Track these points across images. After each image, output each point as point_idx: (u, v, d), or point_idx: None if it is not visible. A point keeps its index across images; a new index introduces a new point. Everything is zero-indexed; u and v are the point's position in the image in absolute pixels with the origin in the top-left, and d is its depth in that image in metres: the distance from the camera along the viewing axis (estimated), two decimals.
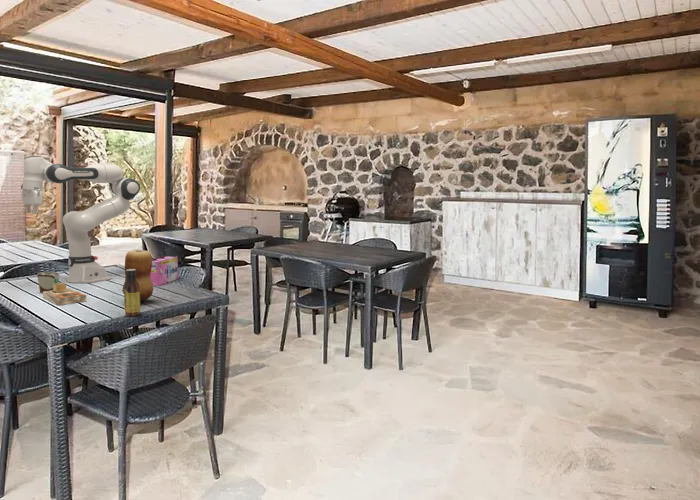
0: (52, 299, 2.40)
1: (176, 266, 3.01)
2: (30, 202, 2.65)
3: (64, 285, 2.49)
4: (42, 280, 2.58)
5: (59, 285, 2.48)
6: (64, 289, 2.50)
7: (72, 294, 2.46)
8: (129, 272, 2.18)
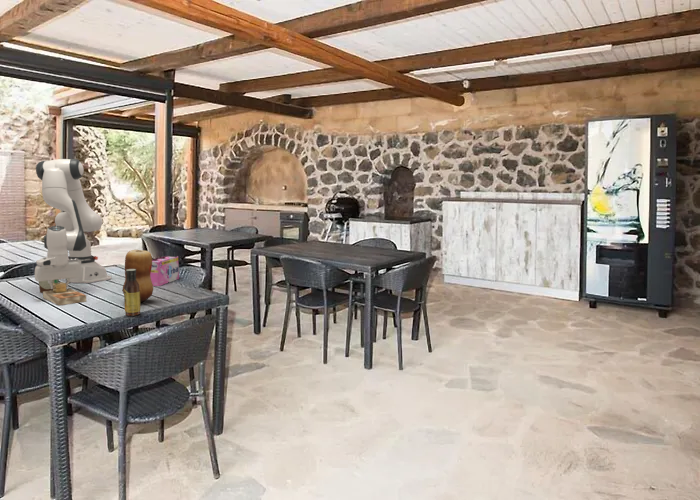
0: (52, 299, 2.40)
1: (177, 266, 3.00)
2: (69, 276, 2.51)
3: (64, 285, 2.49)
4: None
5: (59, 285, 2.48)
6: (64, 289, 2.50)
7: (72, 294, 2.46)
8: (129, 272, 2.18)
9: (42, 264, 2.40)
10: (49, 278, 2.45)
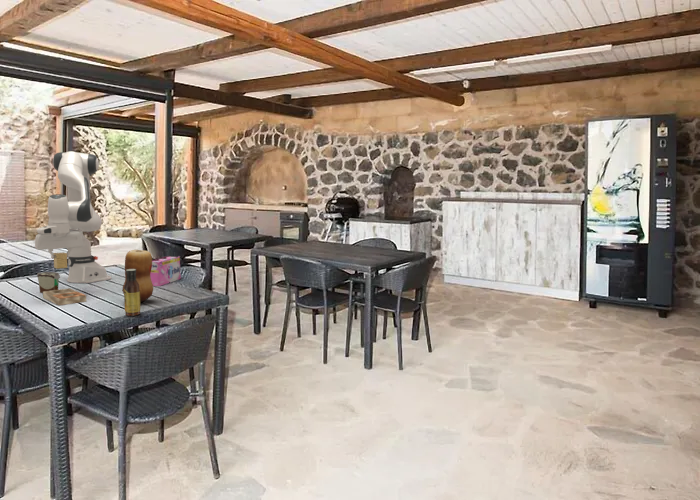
0: (52, 299, 2.40)
1: (178, 266, 3.00)
2: (70, 245, 2.46)
3: (65, 255, 2.44)
4: (42, 280, 2.58)
5: (60, 254, 2.43)
6: (65, 259, 2.45)
7: (72, 294, 2.46)
8: (129, 272, 2.18)
9: (43, 232, 2.36)
10: (50, 247, 2.40)
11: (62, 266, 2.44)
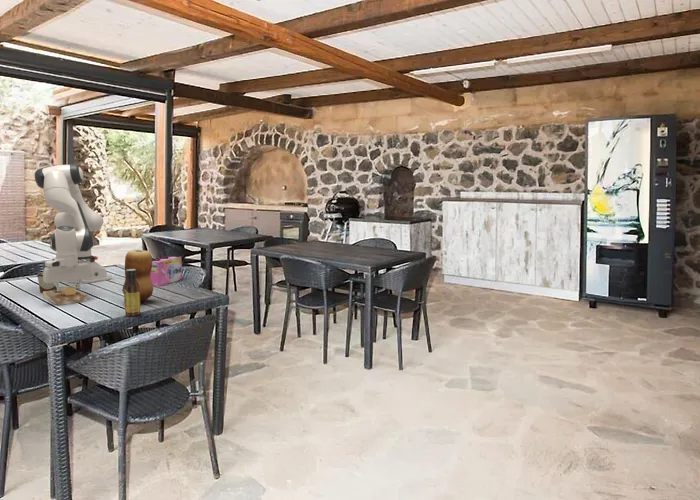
0: (52, 299, 2.40)
1: (180, 266, 3.00)
2: (78, 277, 2.43)
3: (73, 289, 2.41)
4: (42, 280, 2.58)
5: (68, 289, 2.40)
6: (73, 293, 2.42)
7: None
8: (129, 272, 2.18)
9: (51, 265, 2.32)
10: (58, 280, 2.36)
11: None
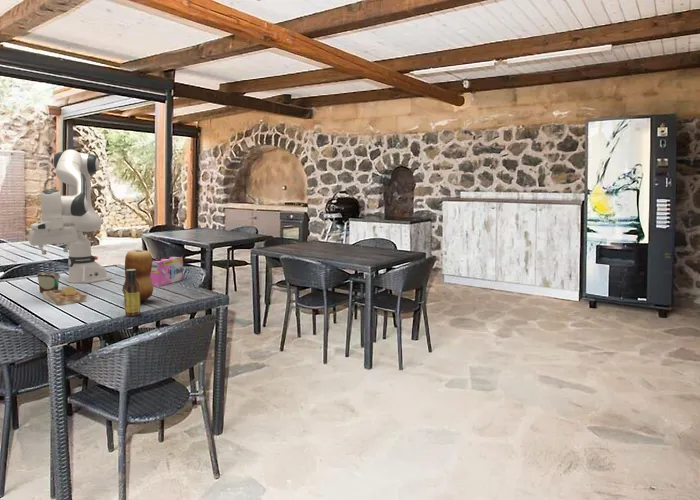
0: (52, 299, 2.40)
1: (181, 267, 2.99)
2: (64, 240, 2.45)
3: (73, 289, 2.41)
4: (42, 280, 2.58)
5: (68, 289, 2.40)
6: (73, 293, 2.42)
7: None
8: (129, 272, 2.18)
9: (37, 228, 2.34)
10: (44, 242, 2.38)
11: None
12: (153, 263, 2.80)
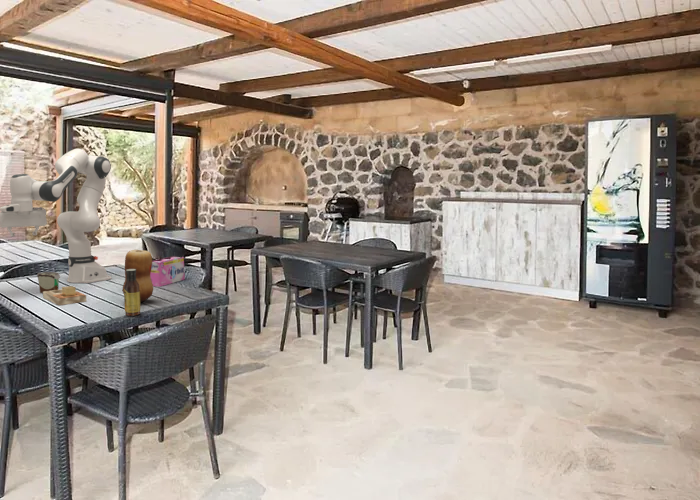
0: (52, 299, 2.40)
1: (182, 267, 2.99)
2: (33, 224, 2.53)
3: (73, 289, 2.41)
4: (42, 280, 2.58)
5: (68, 289, 2.40)
6: (73, 293, 2.42)
7: None
8: (129, 272, 2.18)
9: (5, 210, 2.43)
10: (13, 225, 2.47)
11: None
12: (153, 263, 2.80)
